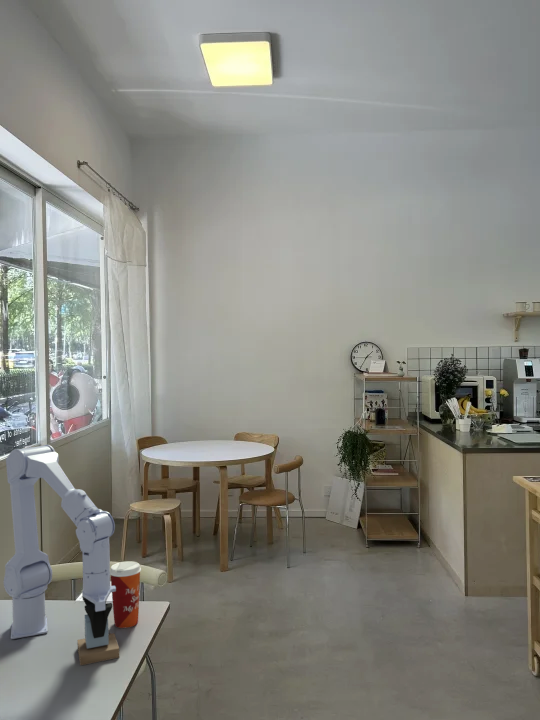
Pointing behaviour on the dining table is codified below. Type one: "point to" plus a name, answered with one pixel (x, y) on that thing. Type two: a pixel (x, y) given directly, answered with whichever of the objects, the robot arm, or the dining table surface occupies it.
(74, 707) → the dining table surface
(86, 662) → the base
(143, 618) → the dining table surface
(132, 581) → the paper cup
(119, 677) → the dining table surface
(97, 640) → the block
